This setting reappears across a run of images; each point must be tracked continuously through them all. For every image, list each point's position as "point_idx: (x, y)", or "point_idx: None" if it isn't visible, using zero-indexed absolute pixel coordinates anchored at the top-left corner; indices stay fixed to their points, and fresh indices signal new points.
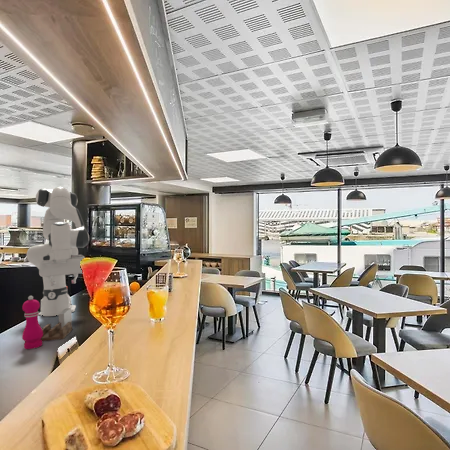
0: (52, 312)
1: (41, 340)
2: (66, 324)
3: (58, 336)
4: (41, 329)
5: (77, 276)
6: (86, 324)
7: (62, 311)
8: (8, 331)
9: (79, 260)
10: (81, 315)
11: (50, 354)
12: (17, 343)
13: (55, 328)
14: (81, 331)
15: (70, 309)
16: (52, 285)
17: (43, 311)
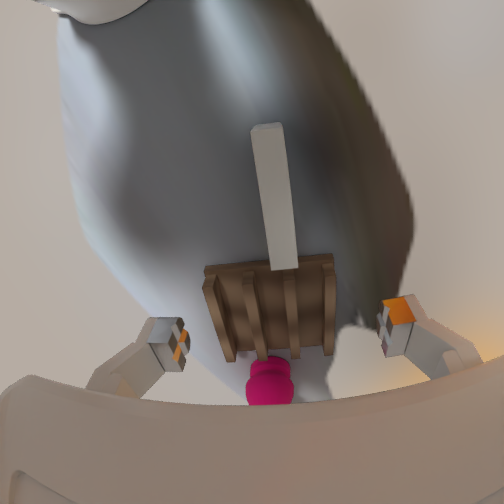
0: (112, 10)
1: (288, 373)
2: (328, 309)
3: (319, 344)
4: (291, 398)
5: (463, 342)
6: (371, 195)
7: (266, 214)
8: (81, 222)
9: None
10: (278, 9)
11: (330, 399)
12: (208, 342)
13: (298, 330)
14: (370, 284)
15: (284, 143)
16: None
17: (68, 14)
